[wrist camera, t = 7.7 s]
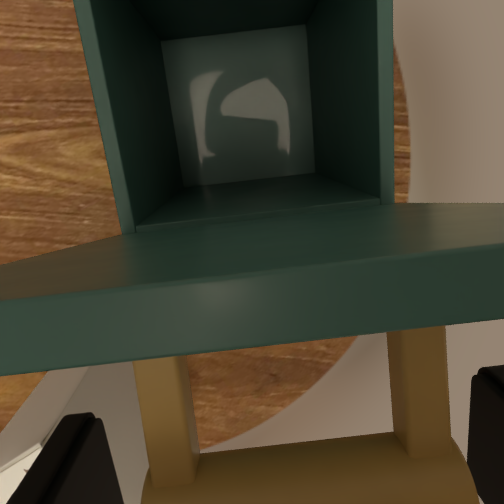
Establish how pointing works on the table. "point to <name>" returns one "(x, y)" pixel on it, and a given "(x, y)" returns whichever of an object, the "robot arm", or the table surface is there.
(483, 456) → the robot arm
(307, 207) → the bin
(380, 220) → the lid
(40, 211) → the table surface
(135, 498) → the cosmetic box
